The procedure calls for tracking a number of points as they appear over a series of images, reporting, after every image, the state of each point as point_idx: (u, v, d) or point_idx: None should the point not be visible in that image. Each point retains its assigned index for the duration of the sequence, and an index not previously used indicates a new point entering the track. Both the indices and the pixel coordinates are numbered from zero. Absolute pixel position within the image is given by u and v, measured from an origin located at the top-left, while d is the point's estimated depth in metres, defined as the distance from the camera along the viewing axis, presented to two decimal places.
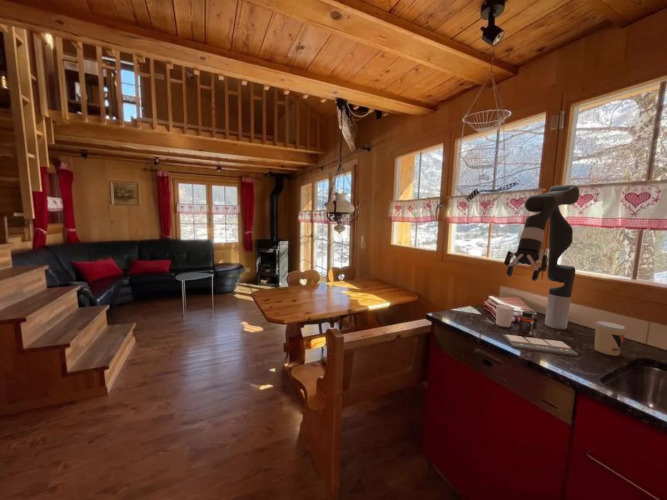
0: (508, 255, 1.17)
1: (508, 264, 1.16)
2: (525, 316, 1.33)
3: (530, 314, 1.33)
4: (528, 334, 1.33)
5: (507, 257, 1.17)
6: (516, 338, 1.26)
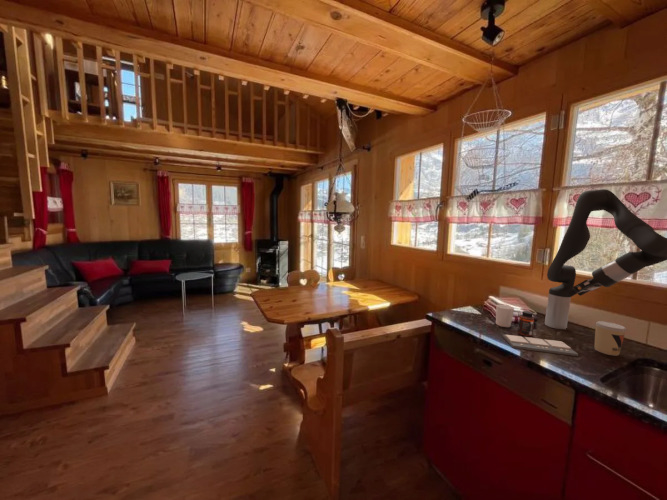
0: (587, 287, 1.12)
1: (579, 292, 1.16)
2: (525, 316, 1.33)
3: (530, 314, 1.33)
4: (528, 334, 1.33)
5: (584, 288, 1.13)
6: (516, 338, 1.26)
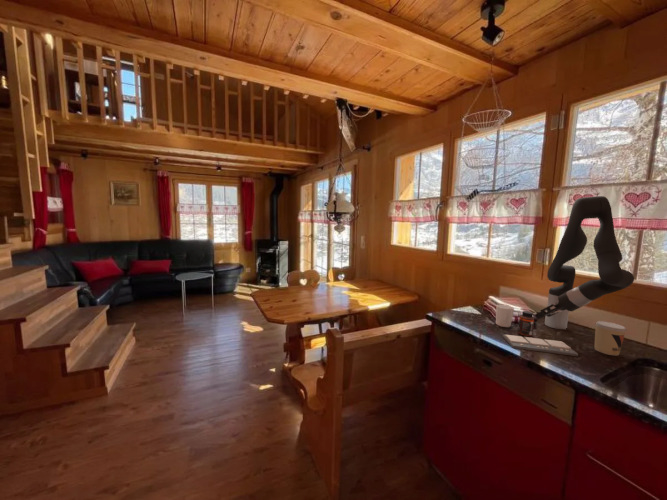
0: (553, 311, 1.20)
1: (546, 315, 1.23)
2: (525, 316, 1.33)
3: (530, 314, 1.33)
4: (528, 334, 1.33)
5: (550, 312, 1.20)
6: (516, 338, 1.26)
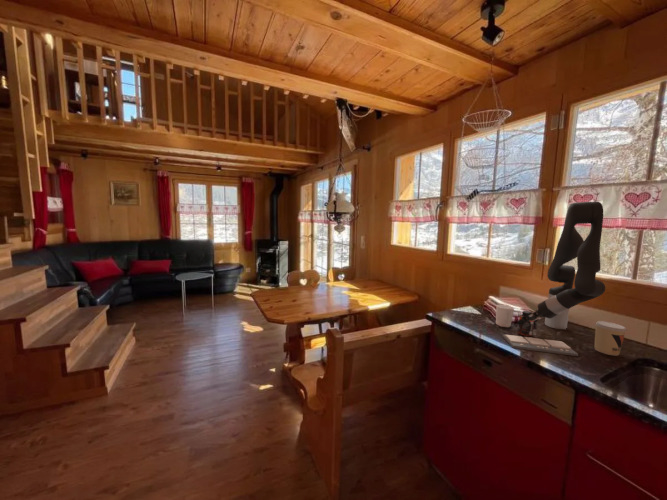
0: (531, 318, 1.27)
1: (526, 322, 1.31)
2: None
3: None
4: (528, 334, 1.33)
5: (530, 319, 1.28)
6: (516, 338, 1.26)
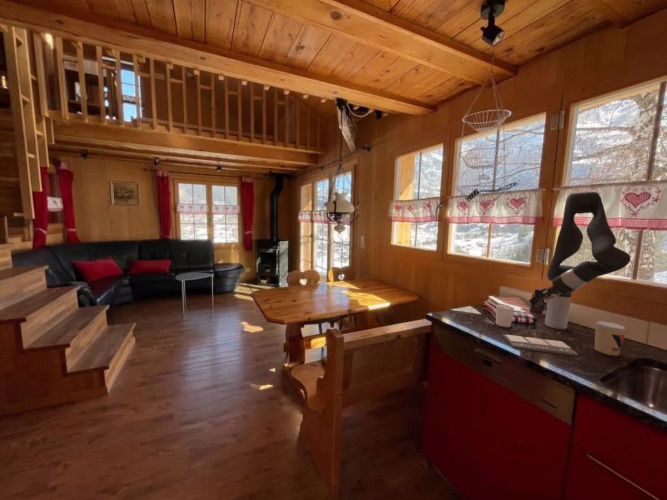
0: None
1: (540, 299, 1.20)
2: None
3: None
4: (541, 313, 1.22)
5: (544, 296, 1.17)
6: (516, 338, 1.26)
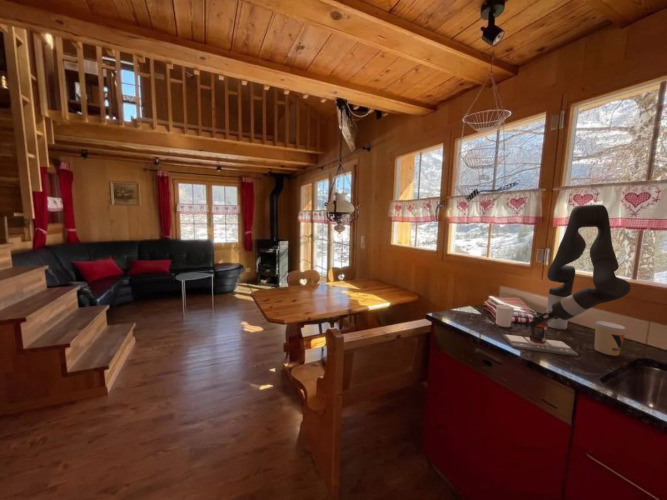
0: (546, 320, 1.15)
1: (539, 323, 1.19)
2: None
3: None
4: (541, 341, 1.21)
5: (544, 321, 1.16)
6: (516, 338, 1.26)
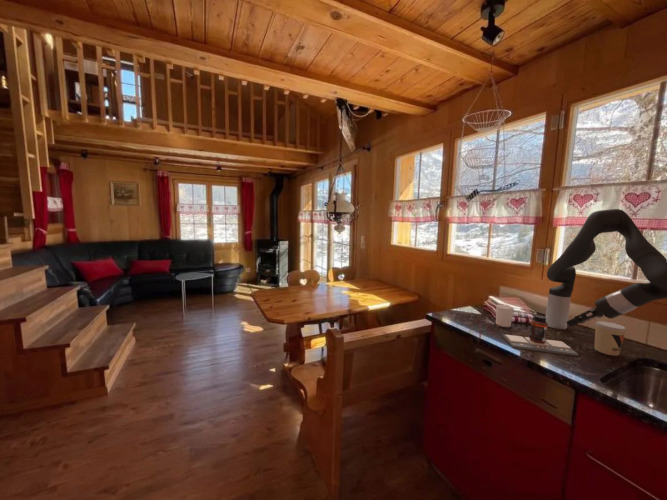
0: (589, 318, 1.04)
1: (580, 322, 1.07)
2: (538, 321, 1.22)
3: (543, 319, 1.21)
4: (541, 341, 1.21)
5: (587, 319, 1.05)
6: (516, 338, 1.26)
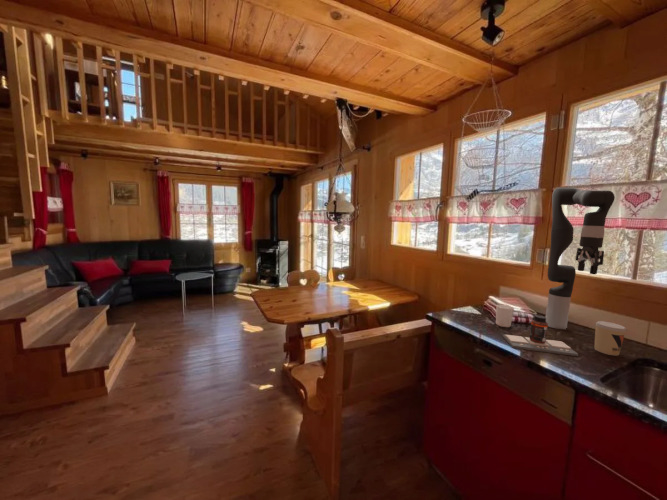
0: None
1: None
2: (538, 321, 1.22)
3: (543, 319, 1.21)
4: (541, 341, 1.21)
5: None
6: (516, 338, 1.26)
